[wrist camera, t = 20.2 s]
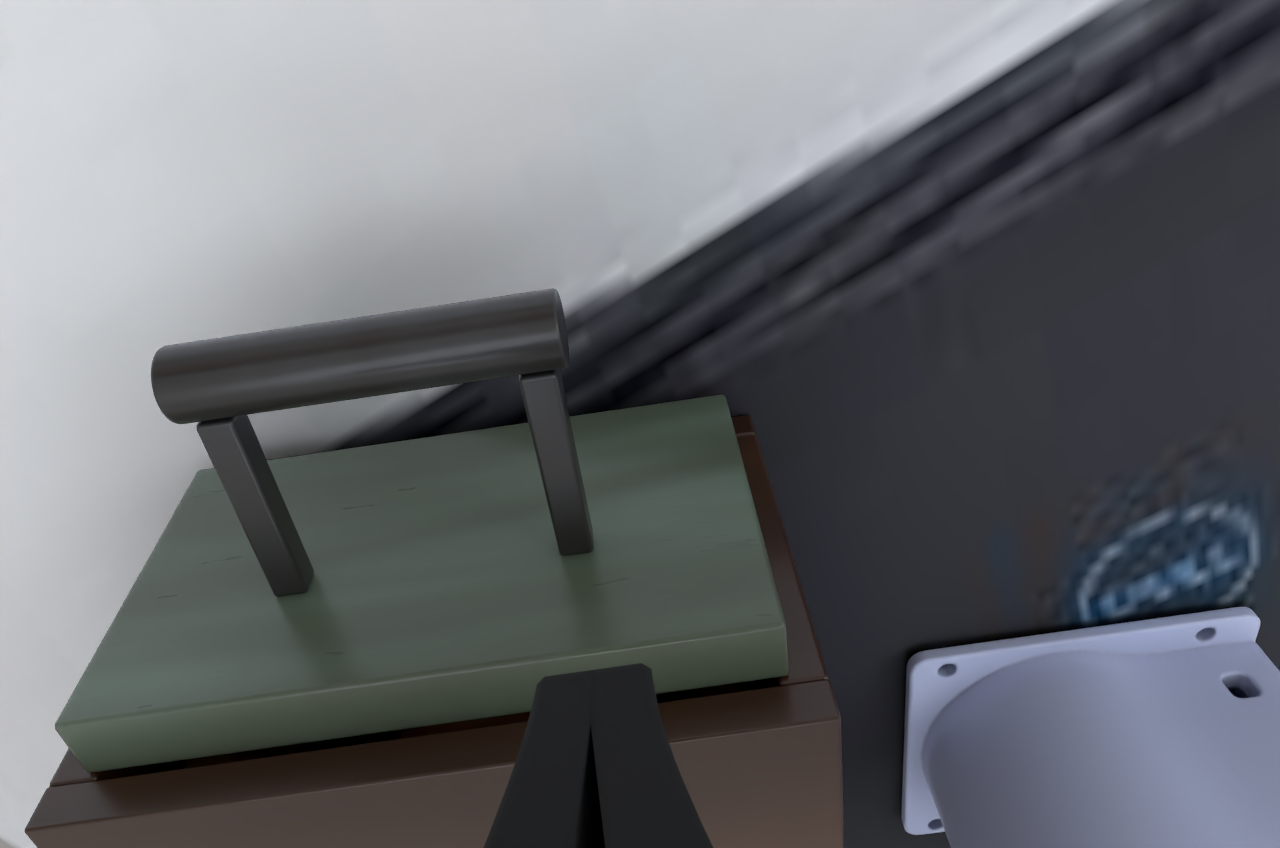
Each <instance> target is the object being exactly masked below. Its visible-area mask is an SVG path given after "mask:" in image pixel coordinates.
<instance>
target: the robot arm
mask: <svg viewBox="0 0 1280 848" xmlns="http://www.w3.org/2000/svg"><path fill="white" fill-rule="evenodd" d="M1259 628H1260V619H1259V618H1258V617H1257V615H1256V614H1255V613H1254V612H1253V611H1252V610H1251V609H1250V608H1247V607H1234V608H1226V609H1219V610H1212V611H1205V612H1198V613H1191V614H1183V615H1176V616H1169V617H1162V618H1155V619H1147V620H1140V621H1133V622H1126V623H1119V624H1111V625H1104V626H1097V627H1090V628H1083V629H1075V630H1068V631H1061V632H1054V633H1047V634H1040V635H1032V636H1025V637H1018V638H1011V639H1004V640H996V641H989V642H982V643H975V644H968V645H960V646H953V647H946V648H939V649H932V650H925V651H921V652H918V653H916V654H915V655H913V656H912V657H911V658H910V659H909V660H908V663H907V670H906V698H905V727H904V755H903V783H902V812H901V819H902V822H903V825H904V828H905V831H906V832H908V833H910V834H913V835H922V834H930V833H937V832H944V831H945V833H946V835H947V838H948V841H949V843H950V846H951V848H1280V671H1279V670H1278V669H1277V668H1276V666H1275V665H1274V664H1273V663H1272V662H1271V660H1270V659H1269V658H1268V657H1267V656H1266V654H1265V653H1264V652H1263V651H1262V649H1261V648H1260V647H1259V646H1258V645H1257V643H1255V640H1256V637H1257V634H1258V631H1259ZM945 664H947V665H945ZM942 665H944V666H942ZM484 848H713V846H712V844H711V842H710V839H709V837H708V835H707V833H706V831H705V829H704V827H703V825H702V823H701V820H700V818H699V816H698V813H697V811H696V809H695V806H694V804H693V802H692V800H691V797H690V795H689V793H688V790H687V788H686V786H685V784H684V781H683V779H682V776H681V774H680V771H679V769H678V766H677V764H676V761H675V758H674V756H673V753H672V750H671V747H670V744H669V741H668V738H667V736H666V733H665V730H664V726H663V723H662V720H661V716H660V713H659V709H658V703H657V698H656V692H655V686H654V681H653V675H652V670H651V668H649V667H647V666H646V665H644V664H642V663H639V664H632V665H624V666H617V667H610V668H603V669H596V670H589V671H581V672H574V673H567V674H560V675H553V676H546V677H544V678H543V679H542V680H541V681H540V682H539V683H538V684H537V687H536V691H535V696H534V700H533V704H532V708H531V712H530V716H529V719H528V723H527V727H526V730H525V733H524V737H523V740H522V743H521V746H520V750H519V753H518V756H517V759H516V762H515V765H514V768H513V771H512V774H511V777H510V779H509V782H508V785H507V788H506V790H505V793H504V796H503V798H502V801H501V803H500V806H499V809H498V811H497V814H496V817H495V819H494V822H493V825H492V827H491V830H490V833H489V835H488V838H487V840H486V843H485V845H484Z"/></svg>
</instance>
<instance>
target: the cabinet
mask: <svg viewBox="0 0 1280 848" xmlns="http://www.w3.org/2000/svg"><path fill="white" fill-rule="evenodd" d="M731 419H732V422H733V426H734V430H735V434H736V438H737V441H738V445H739V449H740V453H741V456H742V460H743V464H744V468H745V471H746V475H747V479H748V483H749V486H750V490H751V494H752V498H753V501H754V505H755V509H756V513H757V516H758V520H759V524H760V528H761V531H762V535H763V539H764V543H765V547H766V550H767V554H768V558H769V562H770V565H771V569H772V573H773V577H774V580H775V584H776V588H777V592H778V595H779V599H780V603H781V607H782V610H783V614H784V618H785V622H786V630H787V646H788V661H789V672H788V675H786V676H784V677H777V678H770V679H762V680H755V681H748V682H741V685H742V690H743V691H740V692H733V693H725V694H718V695H711V696H704V697H696V698H689V699H682V700H675V701H668V702H660V703H658V709H659V713H660V716H661V720H662V723H663V726H664V730H665V733H666V736H667V738H668V741H669V744H670V747H671V750H672V753H673V756H674V758H675V761H676V764H677V766H678V769H679V771H680V774H681V776H682V779H683V781H684V784H685V786H686V788H687V790H688V793H689V795H690V797H691V800H692V802H693V804H694V806H695V809H696V811H697V813H698V816H699V818H700V820H701V823H702V825H703V827H704V829H705V831H706V833H707V835H708V837H709V839H710V842H711V844H712V846H713V848H844V837H843V790H842V742H841V716H840V713H839V710H838V706H837V703H836V700H835V696H834V693H833V690H832V686H831V683H830V681H829V680H828V674H827V671H826V668H825V664H824V661H823V657H822V654H821V651H820V647H819V644H818V641H817V637H816V634H815V631H814V627H813V624H812V621H811V617H810V614H809V611H808V607H807V604H806V601H805V597H804V594H803V590H802V587H801V584H800V580H799V577H798V574H797V570H796V567H795V564H794V560H793V557H792V554H791V550H790V547H789V544H788V540H787V537H786V534H785V530H784V527H783V523H782V520H781V517H780V513H779V510H778V507H777V503H776V500H775V497H774V493H773V490H772V487H771V483H770V480H769V477H768V473H767V470H766V467H765V463H764V460H763V456H762V453H761V450H760V446H759V443H758V440H757V437H756V433H755V430H754V427H753V423H752V420H751V418H750V416H749V415H744V416H737V417H731ZM527 723H528V721H524V722H516V723H509V724H502V725H495V726H487V727H480V728H473V729H466V730H459V731H451V732H444V733H437V734H430V735H423V736H415V737H408V738H401V739H394V740H387V741H379V742H372V743H365V744H358V745H351V746H343V747H336V748H329V749H322V750H314V751H307V752H300V753H293V754H286V755H278V756H271V757H264V758H257V759H250V760H242V761H235V762H228V763H221V764H214V765H206V766H199V767H192V768H185V769H184V767H185V765H186V762H187V760H188V759H186V760H179V761H172V762H165V763H158V764H150V765H143V766H136V767H129V768H122V769H114V770H107V771H100V772H93V773H90V772H87V771H85V769H84V768H83V767H82V765H81V764H80V762H79V761H78V760H77V758H76V757H75V756H74V754H73V753H72V751H71V750H70V749H68V751H67V753H66V754H65V756H64V758H63V760H62V762H61V764H60V766H59V767H58V769H57V771H56V773H55V775H54V777H53V779H52V781H51V782H50V787H49V788H47V789H46V791H45V793H44V795H43V797H42V798H41V800H40V802H39V804H38V806H37V808H36V810H35V811H34V813H33V815H32V817H31V819H30V821H29V823H28V825H27V826H26V828H25V833H26V834H27V835H28V837H29V838H30V839H31V840H32V841H33V843H34V844H35V845H36V846H37V848H484V845H485V843H486V840H487V838H488V835H489V833H490V830H491V827H492V825H493V822H494V819H495V817H496V814H497V811H498V809H499V806H500V803H501V801H502V798H503V796H504V793H505V790H506V788H507V785H508V782H509V779H510V777H511V774H512V771H513V768H514V765H515V762H516V759H517V756H518V753H519V750H520V746H521V743H522V740H523V737H524V733H525V730H526V727H527Z"/></svg>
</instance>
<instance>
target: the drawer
mask: <svg viewBox="0 0 1280 848" xmlns="http://www.w3.org/2000/svg"><path fill="white" fill-rule="evenodd" d="M568 365H569V346H568V338H567V330H566V324H565V318H564V313H563V308H562V303H561V299H560V296H559V293H558V291H557V290H556V289H547V290H540V291H533V292H526V293H520V294H513V295H506V296H499V297H493V298H486V299H479V300H472V301H466V302H459V303H452V304H445V305H438V306H432V307H425V308H418V309H411V310H405V311H398V312H391V313H384V314H377V315H371V316H364V317H357V318H350V319H344V320H337V321H330V322H323V323H317V324H310V325H303V326H296V327H289V328H283V329H276V330H269V331H262V332H256V333H249V334H242V335H235V336H228V337H222V338H215V339H208V340H201V341H195V342H188V343H181V344H174V345H167V346H164V347H162V348H160V349H159V350H158V351H157V352H156V354H155V356H154V358H153V361H152V367H151V381H152V387H153V392H154V396H155V398H156V401H157V404H158V406H159V408H160V409H161V411H162V413H163V414H164V415H165V416H166V417H167V418H168V419H169V420H170V421H172V422H174V423H177V424H186V423H193V422H199V423H198V424H197V431H198V434H199V436H200V438H201V440H202V442H203V444H204V446H205V448H206V451H207V453H208V455H209V457H210V459H211V461H212V463H213V466H214V468H212V469H205V470H200V471H198V472H197V473H196V475H195V477H194V479H193V481H192V482H191V484H190V486H189V488H188V489H187V491H186V493H185V495H184V496H183V498H182V500H181V502H180V504H179V505H178V507H177V509H176V511H175V512H174V514H173V516H172V518H171V520H170V521H169V523H168V525H167V527H166V528H165V530H164V532H163V534H162V535H161V537H160V539H159V541H158V543H157V544H156V546H155V548H154V550H153V551H152V553H151V555H150V557H149V559H148V560H147V562H146V564H145V566H144V567H143V569H142V571H141V573H140V575H139V576H138V578H137V580H136V582H135V583H134V585H133V587H132V589H131V590H130V592H129V594H128V596H127V598H126V599H125V601H124V603H123V605H122V606H121V608H120V610H119V612H118V614H117V615H116V617H115V619H114V621H113V622H112V624H111V626H110V628H109V629H108V631H107V633H106V635H105V637H104V638H103V640H102V642H101V644H100V645H99V647H98V649H97V651H96V653H95V654H94V656H93V658H92V660H91V661H90V663H89V665H88V667H87V668H86V670H85V672H84V674H83V676H82V677H81V679H80V681H79V683H78V684H77V686H76V688H75V690H74V692H73V693H72V695H71V697H70V699H69V700H68V702H67V704H66V706H65V707H64V709H63V711H62V713H61V715H60V716H59V718H58V720H57V722H56V724H55V729H56V731H57V732H58V733H59V735H60V736H61V737H62V739H63V740H64V742H65V743H66V744H67V746H68V747H69V749H70V750H71V751H72V753H73V754H74V756H75V757H76V758H77V760H78V761H79V762H80V764H81V765H82V767H83V768H84V769H85V771H87V772H90V773H93V772H100V771H107V770H114V769H122V768H129V767H136V766H143V765H150V764H158V763H165V762H172V761H179V760H186V759H188V760H187V762H186V765H185V767H184V769H185V768H192V767H199V766H206V765H214V764H221V763H228V762H235V761H242V760H250V759H257V758H264V757H271V756H278V755H286V754H293V753H300V752H307V751H314V750H322V749H329V748H336V747H343V746H351V745H358V744H365V743H372V742H379V741H387V740H394V739H396V735H397V730H402V729H410V728H417V727H424V726H431V725H438V724H446V723H453V722H460V721H467V720H474V719H482V718H489V717H496V716H503V715H510V714H518V713H525V712H531V708H532V704H533V700H534V696H535V691H536V687H537V684H538V683H539V682H540V681H541V680H542V679H543V678H544V677H546V676H553V675H560V674H567V673H574V672H581V671H589V670H596V669H603V668H610V667H617V666H624V665H632V664H639V663H642V664H644V665H646V666H647V667H649V668H651V670H652V675H653V681H654V686H655V692H656V698H657V703H660V702H668V701H675V700H682V699H689V698H696V697H704V696H711V695H718V694H725V693H733V692H740V691H743V690H742V685H741V682H748V681H755V680H762V679H770V678H777V677H784V676H786V675H788V672H789V661H788V646H787V630H786V622H785V618H784V614H783V610H782V607H781V603H780V599H779V595H778V592H777V588H776V584H775V580H774V577H773V573H772V569H771V565H770V562H769V558H768V554H767V550H766V547H765V543H764V539H763V535H762V531H761V528H760V524H759V520H758V516H757V513H756V509H755V505H754V501H753V498H752V494H751V490H750V486H749V483H748V479H747V475H746V471H745V468H744V464H743V460H742V456H741V453H740V449H739V445H738V441H737V438H736V434H735V430H734V426H733V422H732V419H731V415H730V411H729V407H728V404H727V400H726V397H725V396H724V395H715V396H708V397H702V398H695V399H688V400H681V401H674V402H667V403H660V404H653V405H646V406H639V407H633V408H626V409H619V410H612V411H605V412H598V413H591V414H584V415H577V416H570V417H569V412H568V407H567V402H566V397H565V392H564V387H563V383H562V378H561V373H560V369H563V368H566V367H568ZM515 375H519V384H520V388H521V393H522V397H523V401H524V405H525V410H526V414H527V418H528V422H529V423H522V424H515V425H508V426H501V427H495V428H488V429H481V430H474V431H467V432H460V433H453V434H446V435H439V436H432V437H426V438H419V439H412V440H405V441H398V442H391V443H384V444H377V445H370V446H363V447H357V448H350V449H343V450H336V451H329V452H322V453H315V454H308V455H301V456H294V457H288V458H281V459H274V460H266V458H265V455H264V453H263V451H262V448H261V446H260V444H259V441H258V439H257V437H256V434H255V432H254V430H253V427H252V425H251V423H250V420H249V418H248V416H247V415H248V414H255V413H261V412H268V411H275V410H282V409H289V408H296V407H303V406H309V405H316V404H323V403H330V402H337V401H344V400H351V399H357V398H364V397H371V396H378V395H385V394H392V393H398V392H405V391H412V390H419V389H426V388H433V387H440V386H446V385H453V384H460V383H467V382H474V381H481V380H488V379H494V378H501V377H508V376H515Z"/></svg>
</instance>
